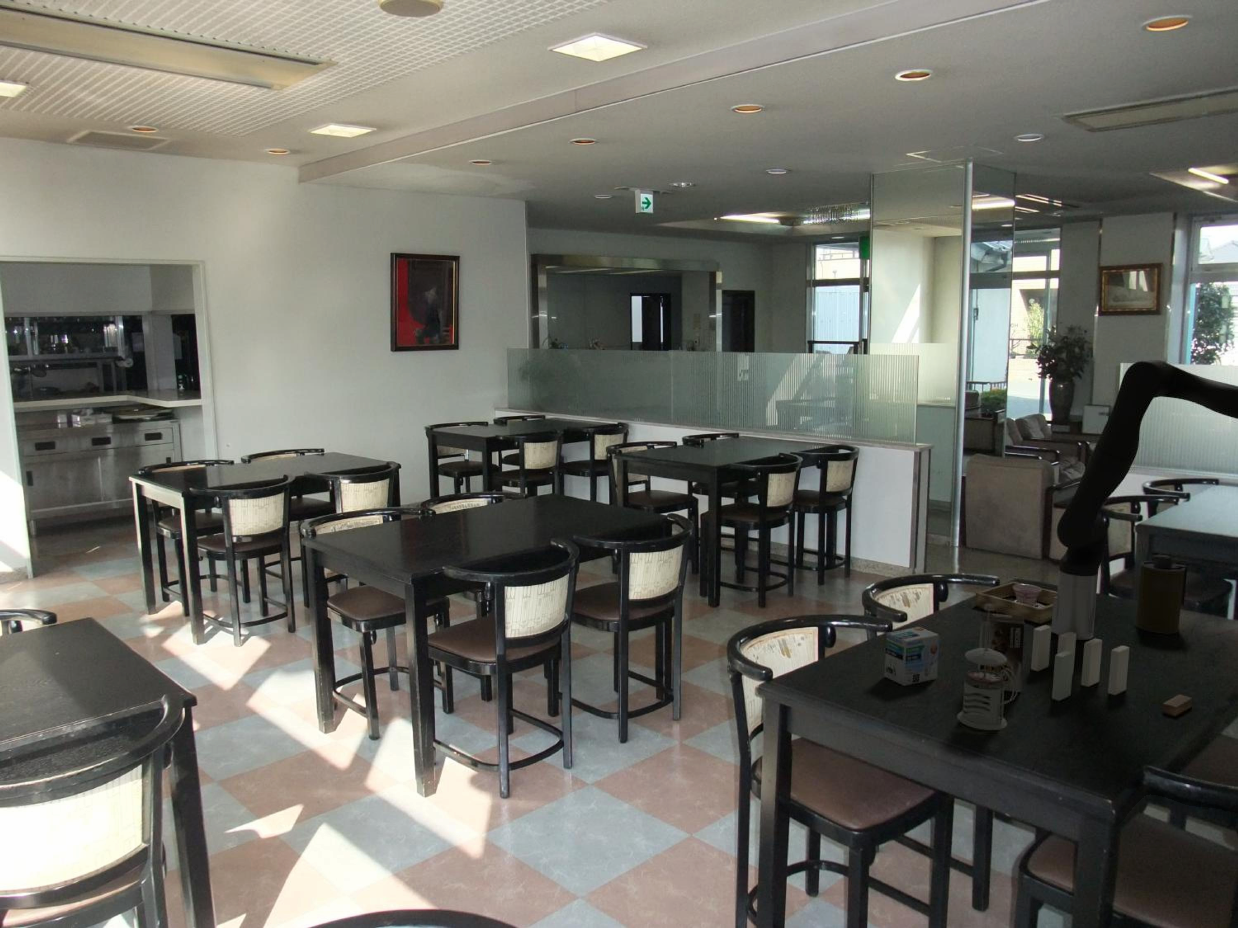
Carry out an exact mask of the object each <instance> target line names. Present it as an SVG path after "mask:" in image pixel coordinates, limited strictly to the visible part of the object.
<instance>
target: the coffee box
mask: <svg viewBox="0 0 1238 928" xmlns="http://www.w3.org/2000/svg"><path fill="white" fill-rule="evenodd" d="M987 623H988V612H981V613H980V629H979V633H980V634H979V646H978V648H986V638H987ZM1025 625H1026V624H1025V619H1023V616H1019V615H1008V614H1002V613H997V612H995V613H994V612H989V624H988V640H987V648H989V649H992V650H994V651H997V652H1000V653H1001V654H1002V655H1004V656H1005V657H1006V658H1007V661H1006V662H1005V663H1004V664H1003V665H999V666H986V670H989V671H992V672H993V671H994V672H995V673H998V674H1000V675H1001V670H1005V668H1008V669H1009V670H1011V671H1012V672H1013V674H1014V675H1015V676H1016V679H1017V681H1018V692H1017V693H1021V692H1022V686H1023V685H1022V682H1023V666H1024V665H1023V664H1024V663H1023V662H1024V644H1025V643H1024V642H1025V627H1026V626H1025ZM977 666H978V668H977V669H981V670H983V669H985V665H980V664H978V665H977ZM1009 670H1007V669H1006V672H1007V673H1008V674H1009V676H1010V677H1011V679H1012V681H1013V684H1014V693H1016V690H1017V683H1016V680H1015V678H1014V676H1013V674H1012V673H1011V672H1010V671H1009ZM1002 674H1004V671H1002ZM1009 676H1008V675H1007V674H1006V673H1005V674H1004V675H1003V680H1002V681H1001V682H1003V683H1004V692H1006V691H1007V692H1013V685H1012V682H1011V679H1010V678H1009ZM992 686H994V687H998V688H999V689H1001V691H1003V690H1002V688H1001V687H1000V686H999V685H998V684H988V685H982V686H978V687H977V688H979V689H981V688H987V687H992Z"/></svg>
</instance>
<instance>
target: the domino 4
mask: <svg viewBox="0 0 1238 928" xmlns="http://www.w3.org/2000/svg"><path fill="white" fill-rule="evenodd" d="M1129 658H1130V647H1128V646H1126V645H1120V646H1117V647H1115V648H1113V649H1111V654H1110V665H1109V675H1108V688H1107V693H1108V694H1110V695H1113V696H1117V695H1118V694H1121V693H1122V692H1124V691H1126V690H1127V679H1128V671H1129V670H1128V669H1129V668H1128V667H1129Z"/></svg>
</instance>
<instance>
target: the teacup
mask: <svg viewBox="0 0 1238 928" xmlns="http://www.w3.org/2000/svg"><path fill="white" fill-rule="evenodd" d="M1041 588H1042V587H1039V586H1037V585H1034V584H1025V583H1021V584H1017V585H1014V586H1013V590H1014V591H1015V595H1016V596H1015V597H1016V599H1015V600H1013V601H1014V602H1018V603H1022V604H1026V605H1030V606H1034V607H1035V606H1036V605H1038V608H1042V607H1045V606H1046V605H1045V604H1044V605H1043V603H1042V604H1041V603H1039V602H1037V601H1036V599H1037V597H1039V596H1038V595H1039V594H1040V593H1041V592H1042V589H1041Z"/></svg>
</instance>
